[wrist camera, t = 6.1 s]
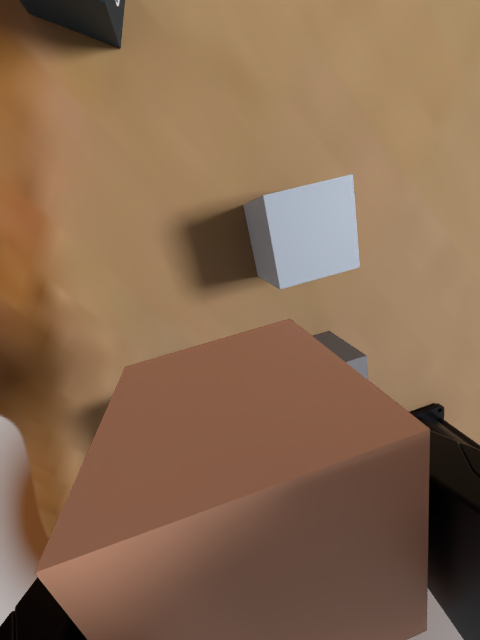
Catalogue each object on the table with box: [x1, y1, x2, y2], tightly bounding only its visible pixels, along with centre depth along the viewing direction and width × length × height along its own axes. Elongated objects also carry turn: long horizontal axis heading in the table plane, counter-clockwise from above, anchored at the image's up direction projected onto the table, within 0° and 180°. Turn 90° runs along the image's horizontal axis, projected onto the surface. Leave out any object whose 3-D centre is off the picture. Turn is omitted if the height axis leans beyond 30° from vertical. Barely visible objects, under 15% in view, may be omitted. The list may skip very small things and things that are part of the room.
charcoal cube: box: [313, 331, 368, 380], centre depth 21 cm, size 5×5×5 cm
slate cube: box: [243, 174, 360, 289], centre depth 17 cm, size 5×5×5 cm
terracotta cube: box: [35, 319, 430, 640], centre depth 6 cm, size 5×5×5 cm
